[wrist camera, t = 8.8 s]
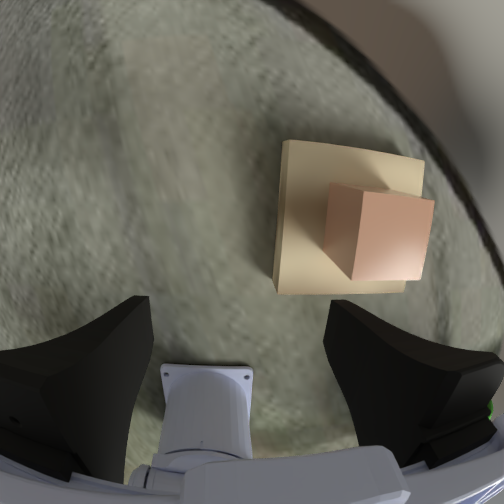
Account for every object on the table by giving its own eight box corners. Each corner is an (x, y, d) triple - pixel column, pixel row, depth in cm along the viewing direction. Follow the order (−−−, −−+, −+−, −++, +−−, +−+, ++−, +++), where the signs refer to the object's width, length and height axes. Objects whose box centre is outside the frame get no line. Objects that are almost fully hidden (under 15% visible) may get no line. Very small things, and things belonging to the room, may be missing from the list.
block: (381, 252, 20) (419, 279, 15) (322, 251, 19) (351, 280, 15) (390, 189, 18) (434, 200, 14) (329, 181, 18) (363, 191, 13)
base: (388, 280, 23) (403, 292, 21) (272, 279, 22) (277, 294, 20) (406, 159, 20) (424, 161, 18) (282, 141, 19) (289, 139, 17)
